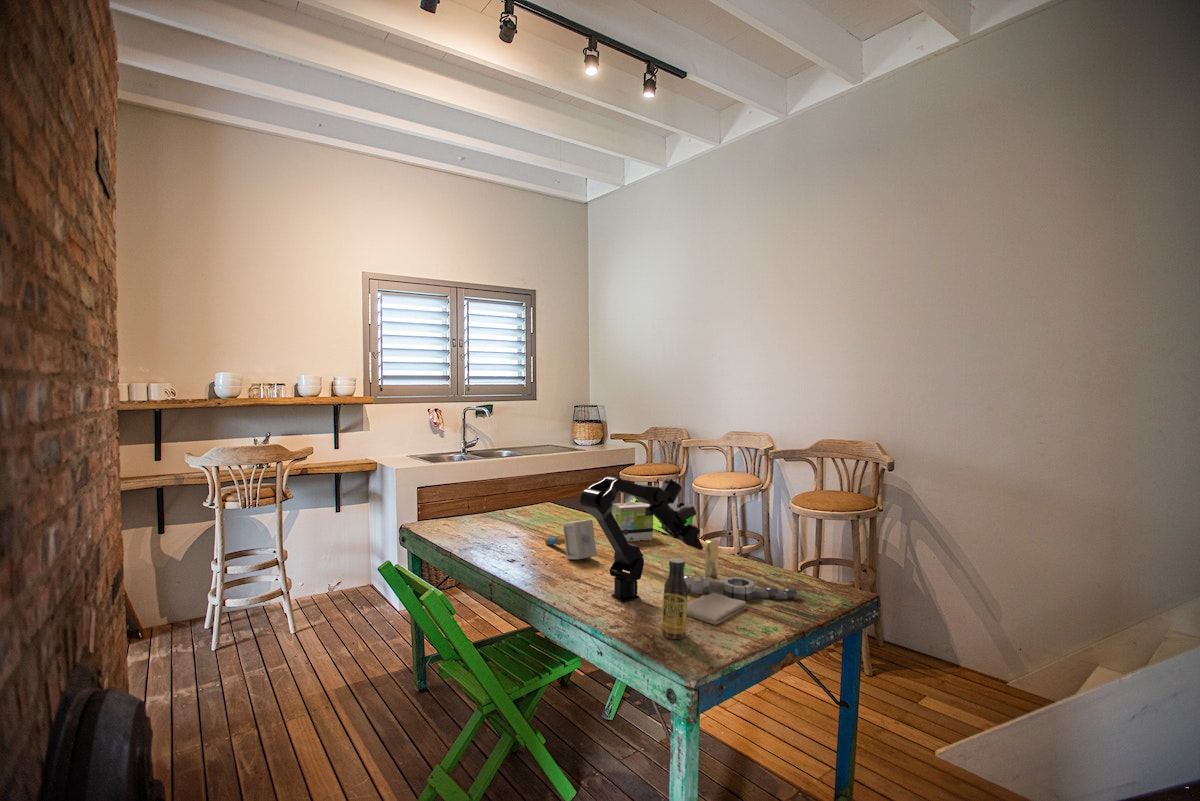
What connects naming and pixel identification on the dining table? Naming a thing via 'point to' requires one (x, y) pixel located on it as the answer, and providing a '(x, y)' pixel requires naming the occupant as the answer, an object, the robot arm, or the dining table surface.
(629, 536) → the tea box
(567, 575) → the dining table surface
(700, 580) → the chain joint
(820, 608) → the dining table surface
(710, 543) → the brass pin
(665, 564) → the dining table surface
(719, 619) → the washcloth
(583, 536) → the hammer
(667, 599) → the sauce bottle
